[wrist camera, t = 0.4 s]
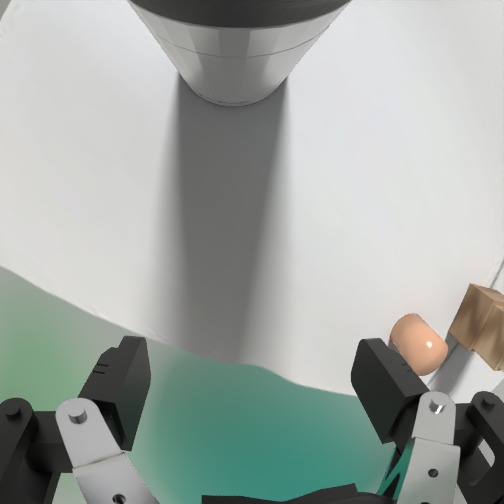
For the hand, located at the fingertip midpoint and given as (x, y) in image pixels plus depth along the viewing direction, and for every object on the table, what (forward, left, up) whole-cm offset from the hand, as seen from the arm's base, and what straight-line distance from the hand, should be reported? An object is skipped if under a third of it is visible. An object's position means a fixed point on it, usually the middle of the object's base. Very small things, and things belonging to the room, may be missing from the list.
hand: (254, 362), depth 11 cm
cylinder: (+7, +22, -17) cm, 29 cm away
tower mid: (+3, +33, -12) cm, 35 cm away
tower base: (+3, +33, -17) cm, 37 cm away
